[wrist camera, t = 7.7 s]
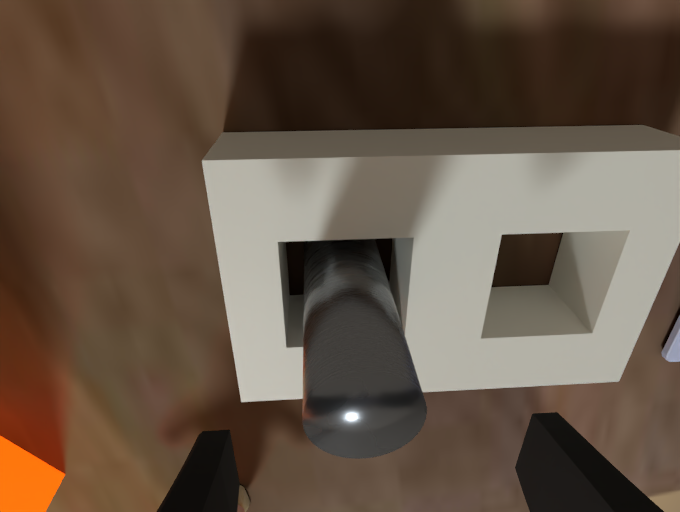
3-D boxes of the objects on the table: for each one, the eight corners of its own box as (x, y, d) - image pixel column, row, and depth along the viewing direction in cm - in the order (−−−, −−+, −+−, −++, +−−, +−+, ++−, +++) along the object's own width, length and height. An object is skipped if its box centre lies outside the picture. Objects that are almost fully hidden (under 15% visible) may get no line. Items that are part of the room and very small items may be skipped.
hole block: (643, 124, 16) (719, 149, 13) (574, 329, 21) (618, 381, 18) (222, 132, 15) (202, 160, 12) (251, 344, 20) (241, 402, 17)
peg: (379, 214, 18) (438, 373, 10) (370, 276, 19) (414, 458, 11) (306, 210, 17) (305, 370, 9) (302, 273, 19) (299, 458, 11)
